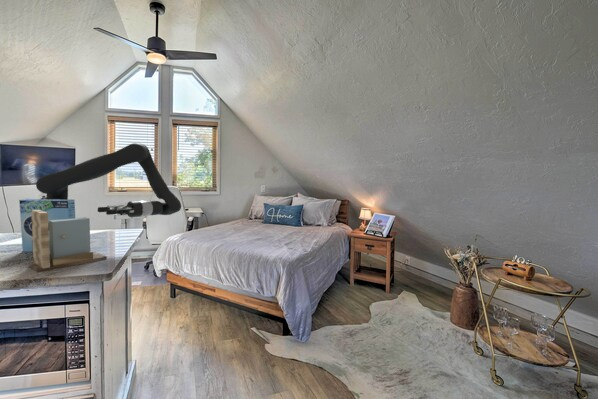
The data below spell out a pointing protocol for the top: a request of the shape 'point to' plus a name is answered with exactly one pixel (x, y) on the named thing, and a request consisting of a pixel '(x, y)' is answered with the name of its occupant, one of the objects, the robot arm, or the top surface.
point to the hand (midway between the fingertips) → (102, 211)
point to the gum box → (53, 207)
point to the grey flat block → (69, 237)
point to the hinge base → (42, 247)
